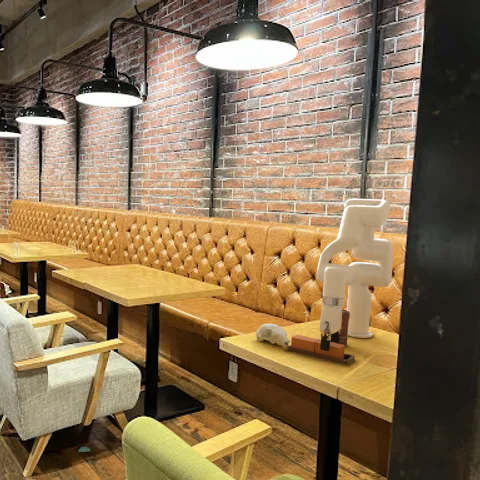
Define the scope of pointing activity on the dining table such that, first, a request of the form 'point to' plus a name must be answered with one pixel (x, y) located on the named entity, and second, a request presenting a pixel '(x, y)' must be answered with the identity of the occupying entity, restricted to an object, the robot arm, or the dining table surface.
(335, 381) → the dining table surface
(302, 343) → the back pad left
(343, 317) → the can
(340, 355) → the back pad right
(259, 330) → the animal skull
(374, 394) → the dining table surface
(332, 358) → the frame
